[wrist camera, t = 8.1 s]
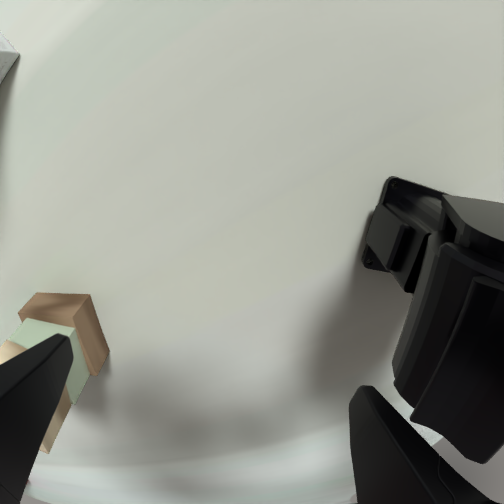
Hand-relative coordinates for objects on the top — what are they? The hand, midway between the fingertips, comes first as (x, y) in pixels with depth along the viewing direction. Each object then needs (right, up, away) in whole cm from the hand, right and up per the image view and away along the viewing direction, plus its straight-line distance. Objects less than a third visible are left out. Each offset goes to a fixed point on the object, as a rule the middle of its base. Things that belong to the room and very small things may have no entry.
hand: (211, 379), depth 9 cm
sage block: (-15, -4, +13) cm, 20 cm away
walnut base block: (-15, -2, +16) cm, 22 cm away
